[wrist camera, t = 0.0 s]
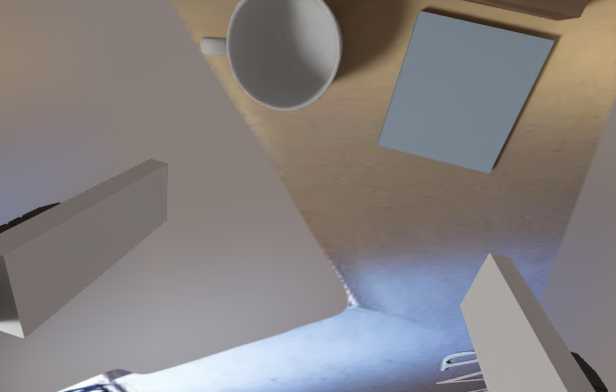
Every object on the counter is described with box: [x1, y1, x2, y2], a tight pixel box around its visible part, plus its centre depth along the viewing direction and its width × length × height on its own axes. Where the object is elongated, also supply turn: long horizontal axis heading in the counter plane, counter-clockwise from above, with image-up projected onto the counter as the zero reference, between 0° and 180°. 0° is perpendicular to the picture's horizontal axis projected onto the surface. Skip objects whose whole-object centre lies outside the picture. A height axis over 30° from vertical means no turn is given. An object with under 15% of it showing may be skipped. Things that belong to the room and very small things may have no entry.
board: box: [378, 11, 555, 174], centre depth 35 cm, size 14×13×1 cm
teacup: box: [200, 0, 343, 111], centre depth 33 cm, size 14×11×8 cm
